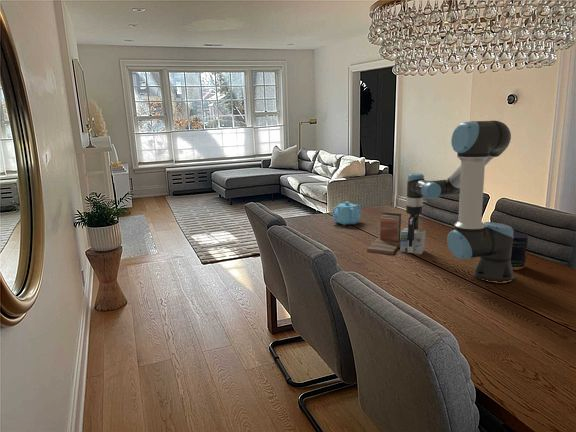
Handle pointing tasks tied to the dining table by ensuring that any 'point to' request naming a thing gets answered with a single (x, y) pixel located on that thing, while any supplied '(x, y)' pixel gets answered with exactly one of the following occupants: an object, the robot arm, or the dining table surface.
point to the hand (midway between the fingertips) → (412, 250)
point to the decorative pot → (346, 213)
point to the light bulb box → (418, 241)
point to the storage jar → (519, 249)
